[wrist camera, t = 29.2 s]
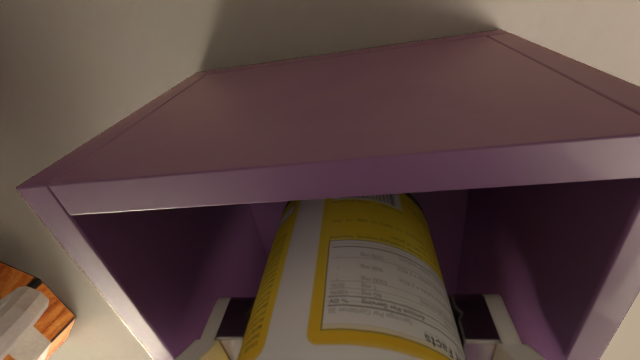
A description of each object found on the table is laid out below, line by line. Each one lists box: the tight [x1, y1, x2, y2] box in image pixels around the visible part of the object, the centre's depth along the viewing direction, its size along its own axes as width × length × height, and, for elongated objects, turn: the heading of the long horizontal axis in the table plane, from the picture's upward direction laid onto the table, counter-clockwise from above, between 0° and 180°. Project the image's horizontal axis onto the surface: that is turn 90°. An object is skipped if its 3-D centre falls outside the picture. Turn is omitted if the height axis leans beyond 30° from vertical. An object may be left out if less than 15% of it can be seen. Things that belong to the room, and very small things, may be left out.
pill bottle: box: [237, 193, 466, 360], centre depth 10 cm, size 6×6×12 cm
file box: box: [16, 29, 640, 360], centre depth 15 cm, size 18×14×10 cm
